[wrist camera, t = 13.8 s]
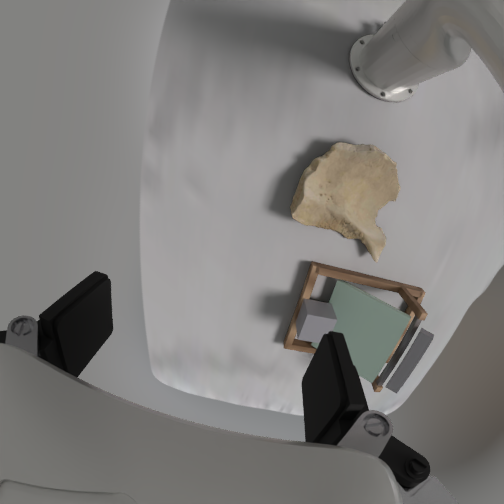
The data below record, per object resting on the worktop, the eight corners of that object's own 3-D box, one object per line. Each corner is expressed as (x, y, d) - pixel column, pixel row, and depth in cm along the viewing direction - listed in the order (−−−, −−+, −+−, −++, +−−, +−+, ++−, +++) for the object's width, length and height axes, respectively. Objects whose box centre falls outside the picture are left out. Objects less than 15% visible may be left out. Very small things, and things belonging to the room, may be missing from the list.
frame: (311, 261, 45) (321, 292, 34) (421, 287, 45) (448, 317, 34) (283, 341, 50) (284, 382, 40) (385, 357, 50) (400, 392, 40)
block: (331, 303, 45) (304, 298, 45) (337, 319, 40) (307, 314, 40) (321, 327, 46) (295, 322, 46) (326, 344, 42) (297, 339, 42)
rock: (413, 175, 38) (426, 180, 34) (372, 252, 44) (380, 263, 40) (325, 121, 37) (331, 120, 32) (283, 209, 43) (284, 217, 39)
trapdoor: (340, 278, 45) (336, 280, 43) (437, 329, 33) (436, 333, 32) (314, 342, 49) (310, 345, 48) (396, 392, 38) (393, 397, 37)
